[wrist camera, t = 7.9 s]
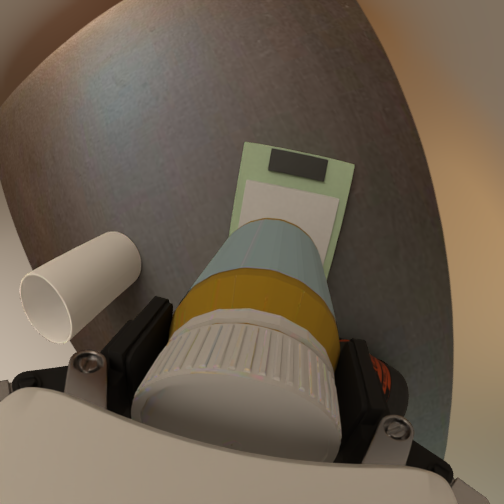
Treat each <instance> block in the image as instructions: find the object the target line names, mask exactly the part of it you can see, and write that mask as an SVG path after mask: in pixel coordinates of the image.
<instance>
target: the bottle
mask: <svg viewBox="0 0 504 504" xmlns="http://www.w3.org/2000/svg"><path fill="white" fill-rule="evenodd" d="M339 356H340V343H339V336H338V329H337V323H336V319H335V314H334V310H333V306H332V302H331V297H330V293H329V289H328V285H327V281H326V277H325V273H324V269H323V266H322V262H321V258H320V254H319V252H318V249H317V247H316V245H315V244H314V242H313V240H312V239H311V237H310V236H309V235H308V234H307V233H306V232H305V231H303V230H302V229H301V228H300V227H299V226H297V225H295V224H293V223H290V222H288V221H285V220H282V219H275V218H262V219H258V220H254V221H250V222H248V223H246V224H244V225H243V226H241V227H240V228H238V229H237V230H235V231H234V232H233V233H232V234H231V235H230V237H229V238H228V239H227V240H226V242H225V243H224V244H223V246H222V247H221V248H220V250H219V251H218V252H217V254H216V255H215V256H214V257H213V259H212V260H211V261H210V263H209V264H208V265H207V267H206V268H205V269H204V271H203V272H202V274H201V275H200V276H199V278H198V279H197V280H196V282H195V283H194V284H193V286H192V287H191V288H190V290H189V291H188V292H187V294H186V295H185V296H184V298H183V299H182V301H181V302H180V304H179V306H178V307H177V309H176V310H175V312H174V314H173V317H172V321H171V325H170V329H169V338H168V343H167V345H166V346H165V348H164V349H163V351H162V352H161V353H160V354H159V356H158V357H157V359H156V360H155V362H154V363H153V365H152V367H151V368H150V370H149V371H148V373H147V375H146V376H145V378H144V379H143V381H142V382H141V384H140V386H139V387H138V389H137V391H136V393H135V395H134V399H133V403H132V408H131V419H132V420H134V421H137V422H140V423H143V424H145V425H148V426H151V427H154V428H157V429H160V430H163V431H166V432H169V433H172V434H176V435H179V436H182V437H186V438H189V439H193V440H197V441H200V442H204V443H208V444H212V445H216V446H220V447H225V448H229V449H234V450H239V451H244V452H249V453H255V454H260V455H266V456H273V457H280V458H287V459H295V460H304V461H314V462H327V463H332V462H333V461H334V460H335V458H336V456H337V454H338V451H339V446H340V445H341V438H342V434H341V423H340V414H339V406H338V398H337V390H336V386H335V379H334V373H335V371H336V368H337V364H338V360H339Z"/></svg>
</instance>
